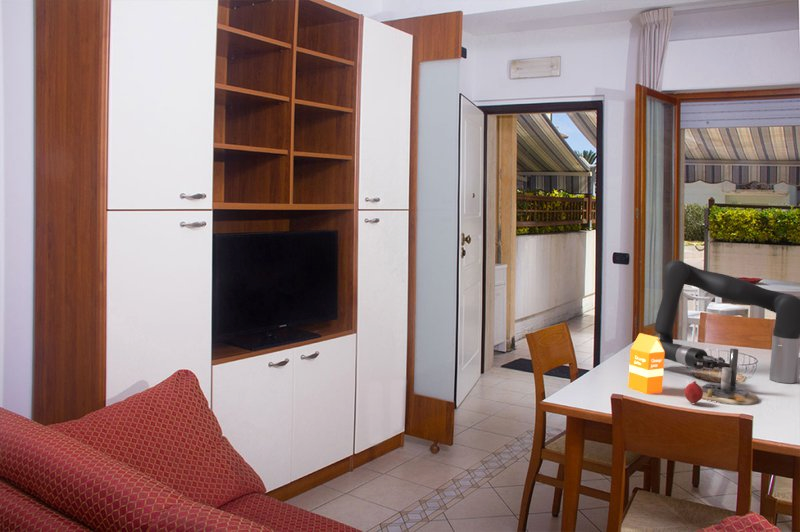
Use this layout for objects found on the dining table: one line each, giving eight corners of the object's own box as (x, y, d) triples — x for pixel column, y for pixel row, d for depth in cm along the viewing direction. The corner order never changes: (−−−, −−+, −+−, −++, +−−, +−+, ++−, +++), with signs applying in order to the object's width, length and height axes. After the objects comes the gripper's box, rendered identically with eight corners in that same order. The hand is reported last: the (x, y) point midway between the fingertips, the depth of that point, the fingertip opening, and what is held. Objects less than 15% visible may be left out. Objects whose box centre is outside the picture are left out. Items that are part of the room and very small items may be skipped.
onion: (680, 401, 244) (681, 378, 243) (696, 401, 244) (698, 378, 243) (688, 406, 238) (690, 382, 237) (705, 406, 238) (707, 382, 237)
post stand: (736, 387, 263) (738, 361, 262) (771, 404, 242) (773, 376, 241) (681, 387, 261) (683, 360, 260) (712, 405, 240) (714, 375, 239)
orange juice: (646, 394, 251) (650, 338, 249) (627, 387, 259) (631, 333, 257) (662, 391, 255) (666, 336, 253) (643, 385, 263) (647, 331, 261)
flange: (733, 386, 260) (736, 348, 258) (763, 400, 242) (766, 359, 241) (694, 386, 258) (697, 347, 257) (721, 400, 241) (724, 359, 239)
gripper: (679, 348, 270) (717, 358, 255) (704, 346, 276) (743, 355, 261) (678, 368, 271) (715, 379, 256) (703, 365, 277) (741, 376, 261)
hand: (729, 367), depth 258 cm, fingers closed
